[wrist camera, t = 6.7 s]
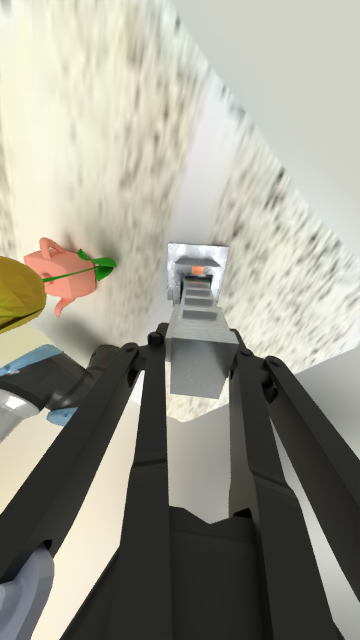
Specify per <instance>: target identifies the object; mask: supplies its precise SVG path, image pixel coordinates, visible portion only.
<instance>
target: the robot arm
mask: <svg viewBox="0 0 360 640" xmlns="http://www.w3.org/2000/svg"><path fill="white" fill-rule="evenodd" d="M179 308H180V304H175V305H174V309H173V312H172V316H171V319H170V323H160V324H159V325H158V328H157V330H156V332H152V333H150V334H149V335H148V345H145V346H139V347H138V345H137V344H136V343H127V344H125V345H123V346H122V347H121V349H120V348H117V347H115V346H110V345H103V346H100V347H98V348H97V349H96V350H95V351H94V353H93V354H92V357H91V359H90V362H89V364H88V367H87V368H86V369H85V368H83V367H82V366H81V365H79V364H78V363H77V362H75V361H74V360H73V359H72V358H70V357H69V356H68V355H66V354H65V353H64V351H61V350H59V349H58V348H56V347H55V346H53V345H50V344H47V345H42V346H40V347H38V348H36V349H34V350H32V351H31V352H29V353H27V354H25V355H23V356H21V357H19V358H18V359H16V360H14V361H12V362H11V363H9V364H7V365H5V366H4V367H2V368H0V443H1V442H2V441H3V440H4V439H5V438H6V437H7V436H8V435H9V434H10V433H11V432H12V431H13V430H14V429H15V428H16V427H17V426H18V424H20V423H21V421H22V420H24V419H26V418H29V417H31V416H34V415H37V414H38V413H40V411H41V410H42V409H43V408H44V407H45V408H47V409H49V410H51V411H50V412H49V413H48V416H47V420H48V421H50V422H51V423H54V424H56V425H60V426H64V428H63V429H62V431H61V432H60V433H59V435H58V436H57V437H56V439H55V440H54V442H53V443H52V444H51V446H50V447H49V449H48V450H47V451H46V453H45V454H44V455H43V457H42V458H41V460H40V461H39V463H38V464H37V465H36V467H35V468H34V470H33V471H32V472H31V473H30V475H29V476H28V478H27V479H26V480H25V482H24V483H23V485H22V486H21V487H20V489H19V490H18V492H17V493H16V494H15V496H14V497H13V499H12V500H11V501H10V503H9V504H8V505H7V507H6V508H5V510H4V511H3V512H2V513H1V514H0V640H30V639H31V636H32V633H33V631H34V629H35V626H36V624H37V622H38V620H39V618H40V616H41V613H42V611H43V609H44V607H45V605H46V602H47V600H48V597H49V594H50V591H51V588H52V584H53V578H54V562H53V558H54V556H55V554H56V553H57V552H58V550H59V548H60V547H61V545H62V543H63V541H64V539H65V537H66V536H67V534H68V532H69V530H70V528H71V526H72V525H73V522H74V520H75V518H76V516H77V514H78V512H79V510H80V508H81V506H82V504H83V501H84V499H85V497H86V495H87V492H88V490H89V488H90V486H91V483H92V481H93V479H94V477H95V474H96V471H97V470H98V467H99V465H100V463H101V460H102V458H103V456H104V454H105V452H106V449H107V447H108V445H109V443H110V440H111V438H112V436H113V433H114V431H115V429H116V427H117V424H118V422H119V420H120V418H121V415H122V413H123V411H124V408H125V406H126V404H127V402H128V400H129V397H130V395H131V393H132V390H133V388H134V386H135V384H136V381H137V379H138V377H139V375H140V372H141V371H142V370H145V374H144V382H143V390H142V398H141V406H140V415H139V423H138V431H137V439H136V447H135V455H134V461H133V465H132V467H131V470H130V476H129V481H128V488H127V496H126V504H125V510H124V518H123V525H122V532H121V540H120V546H119V547H118V549H117V550H116V552H115V554H114V555H113V557H112V558H111V560H110V561H109V563H108V564H107V566H106V568H105V569H104V571H103V572H102V574H101V576H100V577H99V579H98V580H97V582H96V583H95V585H94V587H93V588H92V589H91V591H90V593H89V594H88V596H87V597H86V599H85V601H84V602H83V604H82V605H81V607H80V608H79V610H78V611H77V613H76V615H75V616H74V618H73V619H72V621H71V622H70V624H69V626H68V627H67V629H66V630H65V632H64V633H63V635H62V636H61V638H60V639H59V640H345V639H344V637H343V636H342V634H341V632H340V631H339V629H338V628H337V626H336V625H335V623H334V622H333V619H332V616H331V612H330V608H329V605H328V602H327V598H326V594H325V591H324V587H323V584H322V580H321V577H320V573H319V570H318V566H317V562H316V559H315V555H314V552H313V548H312V545H311V541H310V538H309V534H308V531H307V527H306V523H305V520H304V517H303V513H302V509H301V507H300V504H299V501H298V499H297V497H296V495H295V493H294V491H293V490H292V489H291V488H290V487H289V486H288V484H287V482H286V480H285V477H284V474H283V470H282V466H281V462H280V458H279V454H278V450H277V446H276V442H275V437H274V433H273V429H272V425H271V422H270V418H271V420H272V422H273V424H274V426H275V429H276V431H277V433H278V435H279V437H280V439H281V442H282V444H283V446H284V448H285V450H286V452H287V454H288V457H289V459H290V461H291V463H292V465H293V467H294V470H295V472H296V474H297V476H298V478H299V481H300V483H301V485H302V487H303V489H304V491H305V493H306V496H307V498H308V500H309V502H310V504H311V506H312V508H313V511H314V513H315V515H316V517H317V519H318V522H319V524H320V526H321V528H322V530H323V532H324V534H325V536H326V539H327V541H328V543H329V545H330V547H331V549H332V551H333V553H334V555H335V557H336V559H337V561H338V563H339V565H340V567H341V569H342V571H343V573H344V575H345V577H346V579H347V580H348V582H349V584H350V586H351V588H352V590H353V591H354V593H355V595H356V597H357V599H358V600H359V602H360V460H359V459H358V457H357V456H356V455H355V453H354V452H353V451H352V450H351V448H350V447H349V446H348V444H347V443H346V442H345V441H344V439H343V438H342V437H341V435H340V434H339V433H338V432H337V430H336V429H335V428H334V426H333V425H332V424H331V423H330V421H329V420H328V419H327V417H326V416H325V415H324V414H323V412H322V411H321V410H320V408H319V407H318V406H317V405H316V403H315V402H314V401H313V400H312V398H311V397H310V396H309V394H308V393H307V392H306V390H305V389H304V388H303V387H302V385H301V384H300V383H299V381H298V380H297V379H296V378H295V376H294V375H293V374H292V372H291V371H290V370H289V369H288V367H287V366H286V365H285V363H284V362H283V361H282V360H280V359H279V358H277V357H274V356H267V357H266V358H265V359H263V358H260V357H257V356H254V354H253V352H252V351H251V350H249V349H247V348H246V346H245V344H244V342H243V340H242V338H241V336H240V334H239V332H238V331H237V330H236V329H230V328H229V327H228V324H227V322H226V319H225V317H224V314H223V312H222V309H221V308H220V307H218V310H219V313H220V316H221V319H222V322H223V324H224V327H225V330H226V331H232V332H234V333H235V335H236V338H237V340H238V342H239V346H238V348H237V351H236V354H235V356H234V359H233V362H232V364H231V367H230V370H229V372H228V375H227V378H228V376H229V408H230V454H231V485H230V490H229V518H227V519H224V520H221V521H218V522H215V523H212V524H208V523H206V522H205V521H203V520H202V519H200V518H198V517H197V516H195V515H194V514H192V513H190V512H189V511H187V510H186V509H184V508H179V507H173V506H169V496H168V463H167V462H168V461H167V426H166V388H165V361H168V362H171V337H172V333H173V328H174V326H176V323H177V318H178V313H179ZM275 385H276V386H275ZM269 416H270V417H269Z"/></svg>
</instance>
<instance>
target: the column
mask: <svg viewBox="0 0 360 640" xmlns="http://www.w3.org/2000/svg"><path fill="white" fill-rule="evenodd" d="M238 346H239V342H238V340H237V338H236V335H235V333H234V332H232V331H226V330H225V327H224V324H223V322H222V319H221V316H220V313H219V310H218V307H217V305H216V302H215V299H214V296H213V293H212V290H211V288H210V281H209V280H208V279H207V277H202V276H189V275H186V278H185V279H184V287H183V294H182V299H181V303H180V308H179V313H178V318H177V323H176V326H174V328H173V333H172V337H171V381H170V394H179V395H187V396H196V397H205V398H213V399H219V396H220V394H221V391H222V388H223V386H224V383H225V380H226V378H227V375H228V372H229V370H230V367H231V364H232V362H233V359H234V356H235V354H236V351H237V348H238Z"/></svg>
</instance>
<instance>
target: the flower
mask: <svg viewBox="0 0 360 640" xmlns="http://www.w3.org/2000/svg"><path fill="white" fill-rule="evenodd" d="M78 256H79V257H80V258H81V259H83V260H86V261H90V260H91V259H89V258H88V257H87V255H86V254H85V253H84V252H83V251H82V249H80V250H79V252H78ZM91 261H92V262H94V263H95V264H98V265H99V266H96V267H93V268H90V269H86V270H82V271H79V272H75V273H70V274H65V275H61V276H56V277H50V278H44V279H42V278H41V276H40V275H38V274H37V273H36V272H35V271H34V270H32V269H31V268H30V267H28V266H26V265H24V264H22V263H20V262H18V261H16V260H13V259H11V258H7V257H3V256H0V334H2V333H4V332H6V331H9V330H11V329H14V328H16V327H19V326H21V325H23V324H25V323H27V322H28V321H30V320H32V319H34V318H36V317H38V315H39V314H40V313H41V312H42V310H43V309H44V307H45V305H46V297H47V294H46V292H45V284H44V283H45V282H49V281H53V280H56V279H60V278H63V277H67V276H71V275H74V274H78V273H81V272H85V271H89V270H92V269H96V268H97V270H96V271H95V272H96V277H97V279H98V281H100V280H101V279H103V278H104V277H106V276H108V275H109V274H110V273H111V271H112V270H113V268H114V267H116V266H117V264H116V263H115V262H114V261H113V260H112V259H110V258H107V257H105V258H99V259H92V260H91Z"/></svg>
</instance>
